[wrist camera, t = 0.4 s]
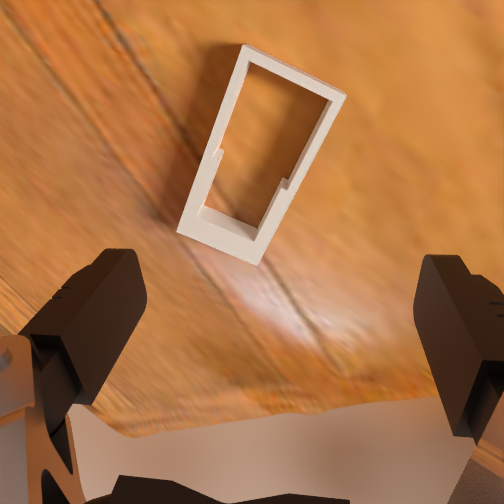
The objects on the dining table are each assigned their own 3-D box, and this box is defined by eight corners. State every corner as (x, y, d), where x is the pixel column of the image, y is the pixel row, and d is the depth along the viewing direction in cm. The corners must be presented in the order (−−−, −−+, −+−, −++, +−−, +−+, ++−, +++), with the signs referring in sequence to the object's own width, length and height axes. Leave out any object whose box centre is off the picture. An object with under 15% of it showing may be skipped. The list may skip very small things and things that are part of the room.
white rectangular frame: (247, 43, 31) (242, 45, 29) (343, 90, 32) (346, 95, 29) (184, 219, 40) (176, 231, 38) (259, 251, 41) (257, 266, 39)
